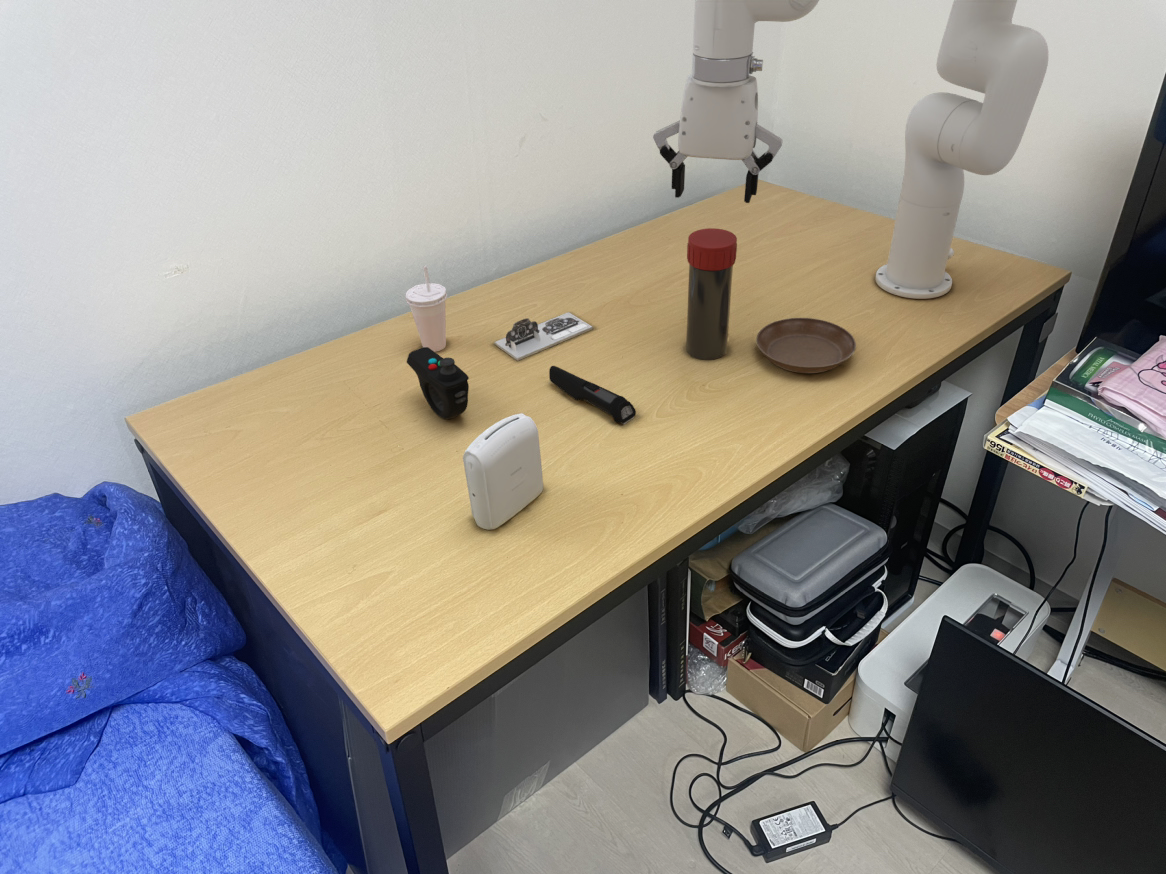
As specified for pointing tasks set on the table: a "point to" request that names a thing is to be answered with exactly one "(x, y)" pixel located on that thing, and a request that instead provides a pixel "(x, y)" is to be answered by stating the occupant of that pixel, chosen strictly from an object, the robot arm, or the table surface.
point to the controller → (440, 382)
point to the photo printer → (503, 470)
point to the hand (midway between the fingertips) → (713, 196)
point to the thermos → (708, 312)
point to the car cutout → (540, 335)
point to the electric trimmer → (593, 395)
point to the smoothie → (429, 312)
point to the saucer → (805, 344)
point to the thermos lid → (711, 249)
